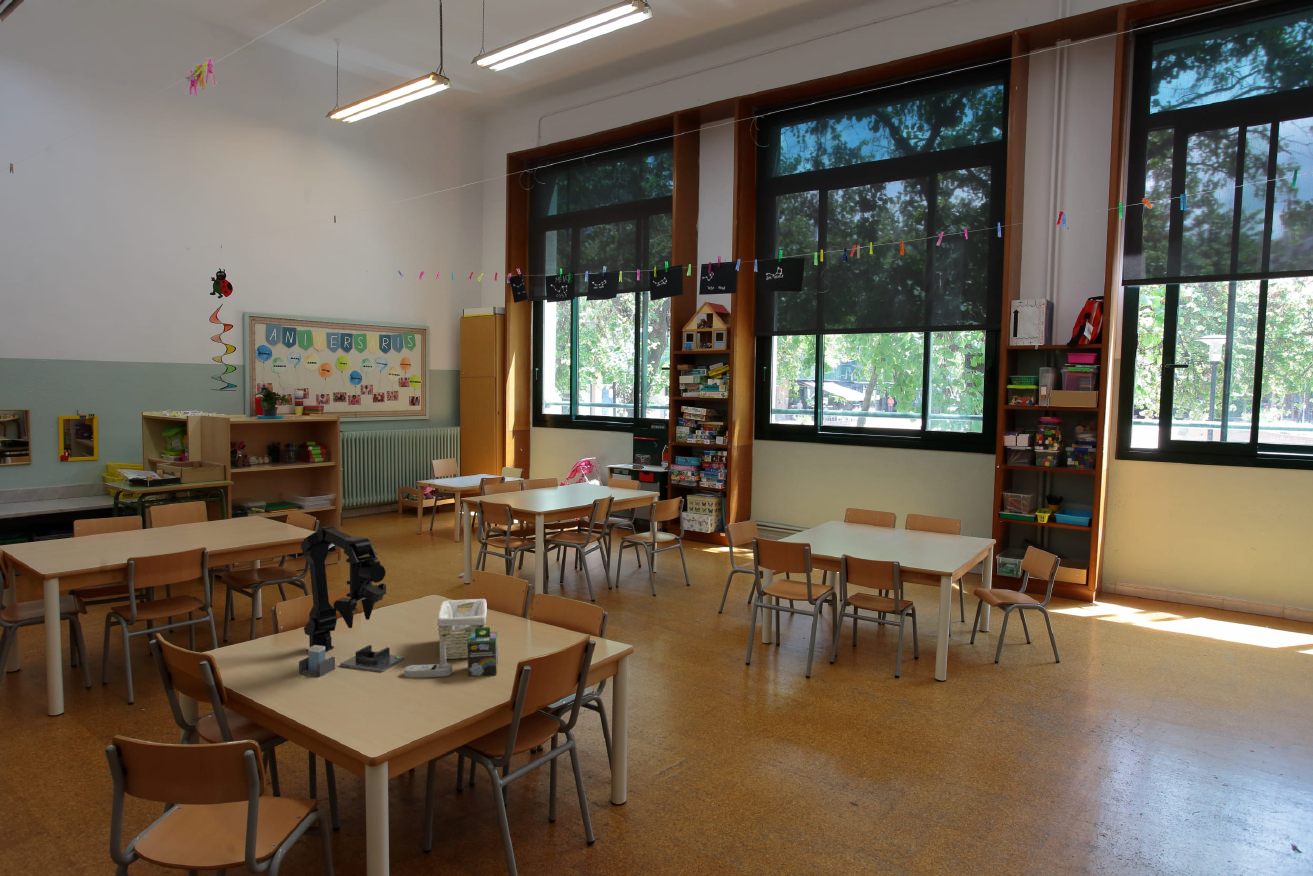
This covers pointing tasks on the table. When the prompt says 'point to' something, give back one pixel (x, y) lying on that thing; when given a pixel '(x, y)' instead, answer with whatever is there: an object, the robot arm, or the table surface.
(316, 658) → the plug
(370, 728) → the table surface
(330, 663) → the holster
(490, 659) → the chalk box
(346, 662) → the port
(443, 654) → the electronic device
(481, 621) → the storage basket
